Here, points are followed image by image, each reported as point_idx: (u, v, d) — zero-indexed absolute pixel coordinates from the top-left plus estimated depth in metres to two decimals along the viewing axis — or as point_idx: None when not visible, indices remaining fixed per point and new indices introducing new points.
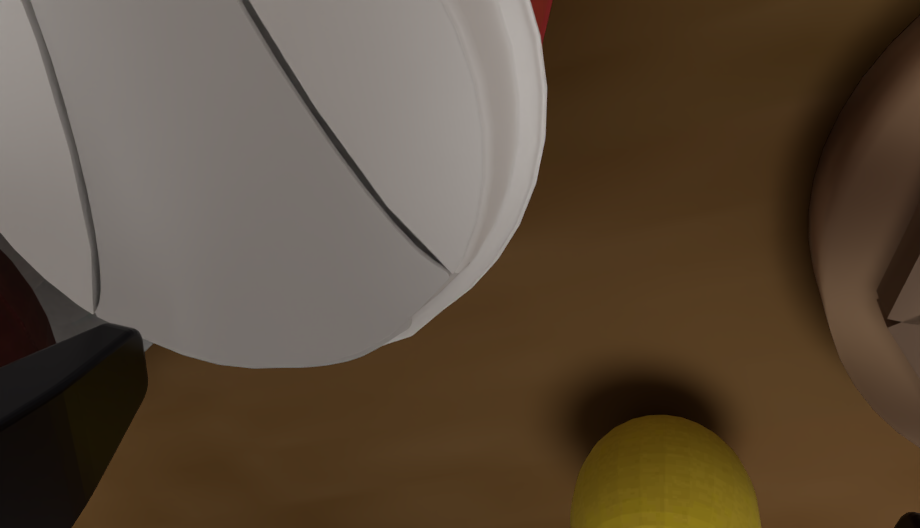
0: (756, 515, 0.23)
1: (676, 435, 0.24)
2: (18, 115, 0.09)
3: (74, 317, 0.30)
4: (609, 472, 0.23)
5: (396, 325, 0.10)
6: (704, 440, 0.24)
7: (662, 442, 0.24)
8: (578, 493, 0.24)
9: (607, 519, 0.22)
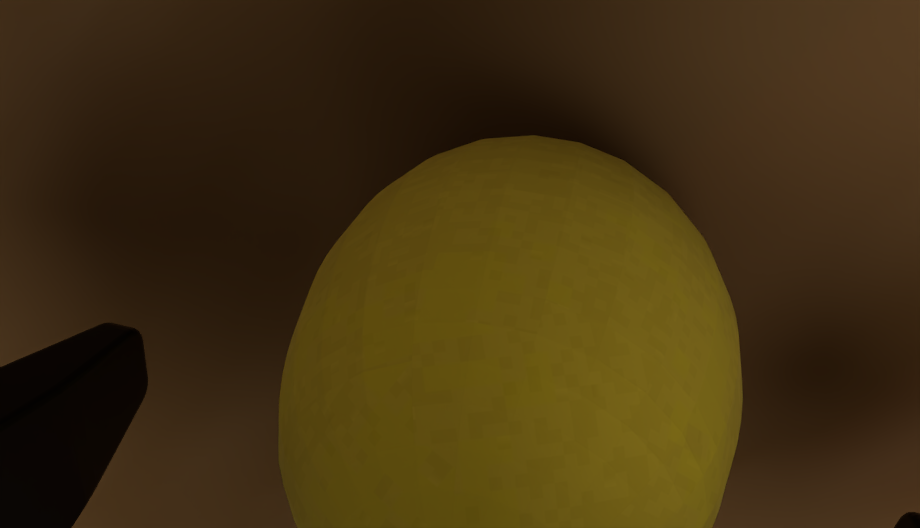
0: (669, 252, 0.09)
1: (442, 157, 0.10)
2: None
3: None
4: None
5: None
6: (509, 143, 0.10)
7: (404, 178, 0.10)
8: None
9: (284, 383, 0.09)
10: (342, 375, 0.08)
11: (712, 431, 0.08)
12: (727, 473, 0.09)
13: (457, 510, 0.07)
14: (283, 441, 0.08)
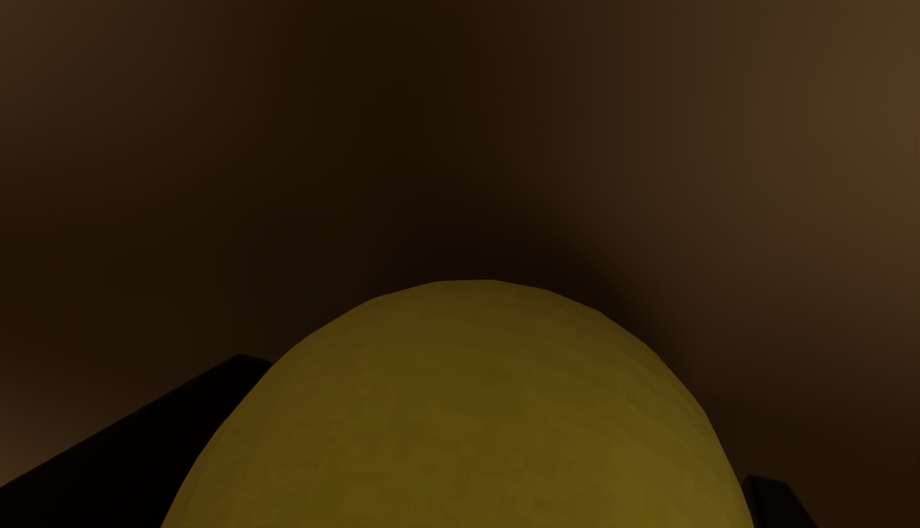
0: (667, 504, 0.06)
1: (355, 325, 0.07)
2: None
3: None
4: None
5: None
6: (445, 309, 0.07)
7: (300, 360, 0.07)
8: None
9: None
10: None
11: None
12: None
13: None
14: None
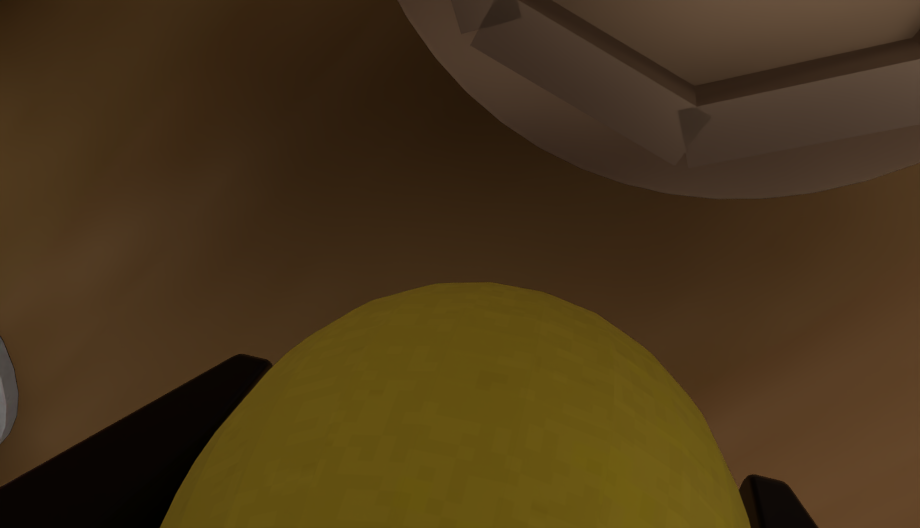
0: (664, 507, 0.06)
1: (353, 328, 0.07)
2: None
3: None
4: None
5: None
6: (442, 312, 0.07)
7: (298, 363, 0.07)
8: None
9: None
10: None
11: None
12: None
13: None
14: None
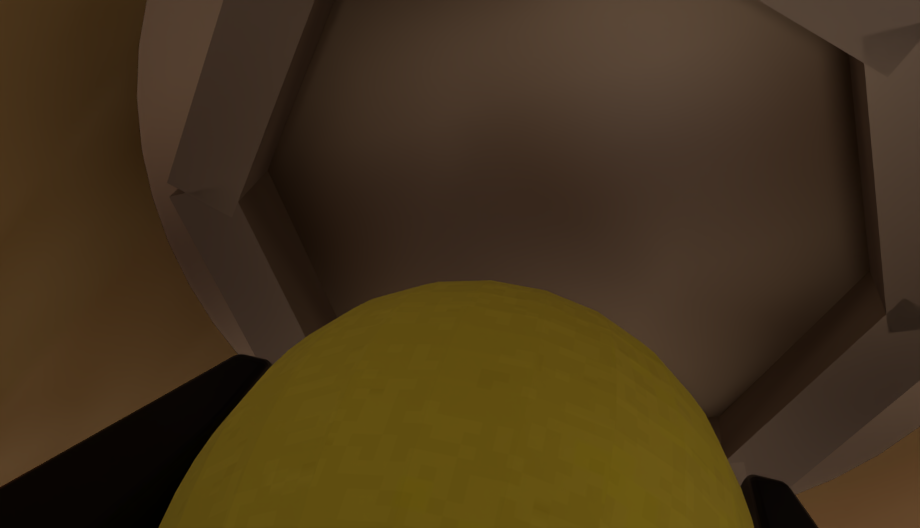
0: (668, 507, 0.06)
1: (354, 326, 0.07)
2: None
3: None
4: None
5: None
6: (443, 310, 0.07)
7: (298, 360, 0.07)
8: None
9: None
10: None
11: None
12: None
13: None
14: None
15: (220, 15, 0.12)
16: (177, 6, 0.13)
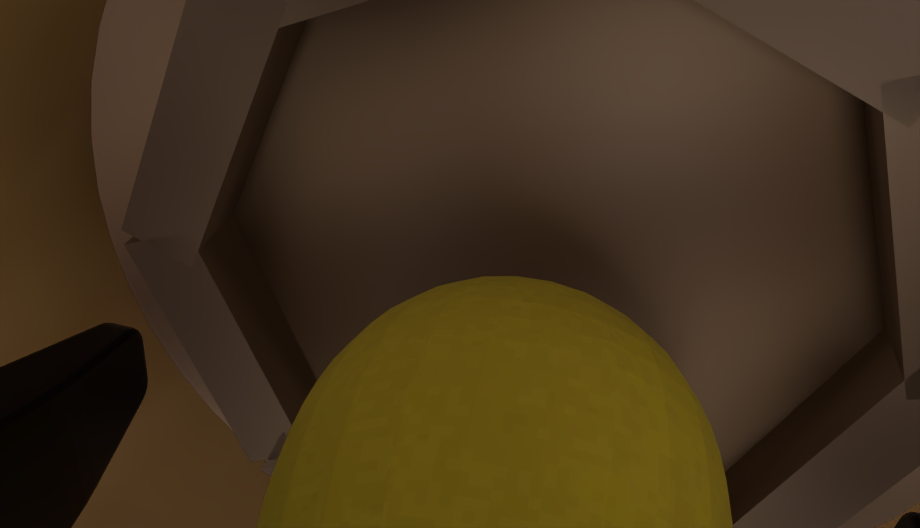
0: (653, 516, 0.08)
1: (396, 355, 0.09)
2: None
3: None
4: (263, 502, 0.09)
5: None
6: (470, 342, 0.09)
7: (354, 389, 0.09)
8: None
9: None
10: None
11: None
12: None
13: None
14: None
15: (173, 53, 0.11)
16: (131, 39, 0.12)
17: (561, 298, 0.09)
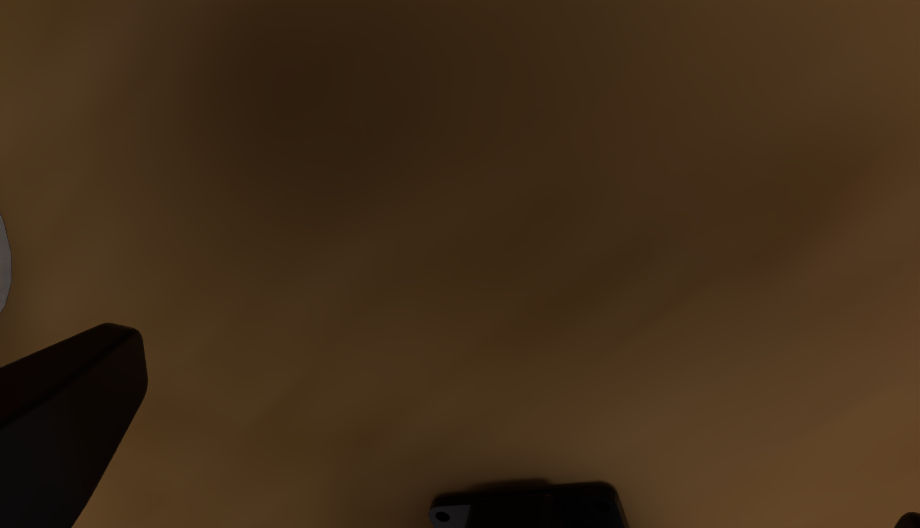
0: None
1: None
2: None
3: None
4: None
5: None
6: None
7: None
8: None
9: None
10: None
11: None
12: None
13: None
14: None
15: None
16: None
17: None
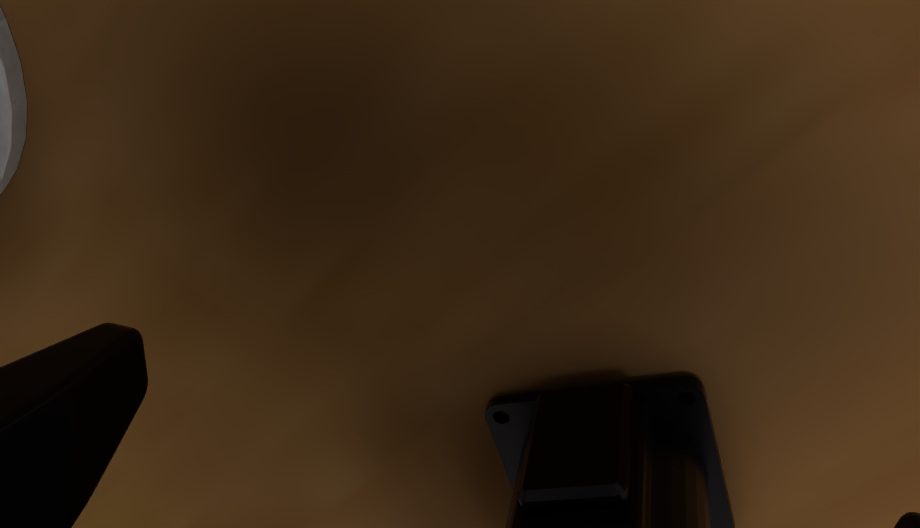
0: None
1: None
2: None
3: None
4: None
5: None
6: None
7: None
8: None
9: None
10: None
11: None
12: None
13: None
14: None
15: None
16: None
17: None
